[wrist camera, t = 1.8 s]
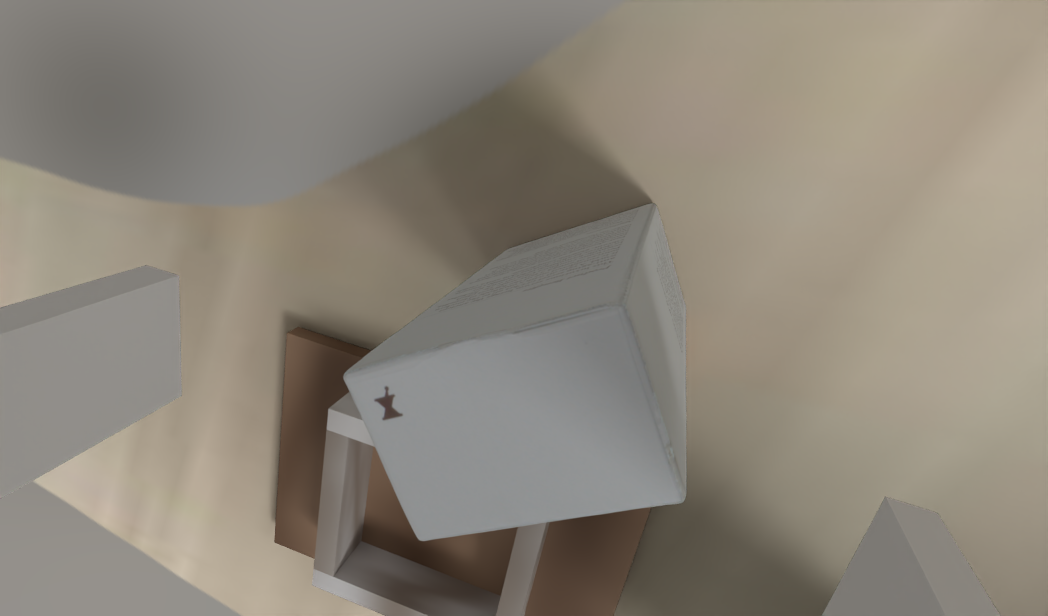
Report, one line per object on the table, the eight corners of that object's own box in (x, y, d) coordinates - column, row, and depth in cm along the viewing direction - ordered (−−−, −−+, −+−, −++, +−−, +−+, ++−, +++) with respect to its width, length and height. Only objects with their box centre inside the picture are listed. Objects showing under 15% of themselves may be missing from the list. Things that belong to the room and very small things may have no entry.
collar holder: (669, 447, 23) (665, 495, 20) (596, 657, 28) (584, 721, 25) (298, 326, 26) (248, 353, 24) (284, 532, 31) (241, 575, 28)
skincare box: (542, 346, 24) (409, 549, 13) (505, 247, 23) (329, 370, 12) (693, 309, 21) (692, 512, 10) (660, 197, 21) (620, 291, 10)
